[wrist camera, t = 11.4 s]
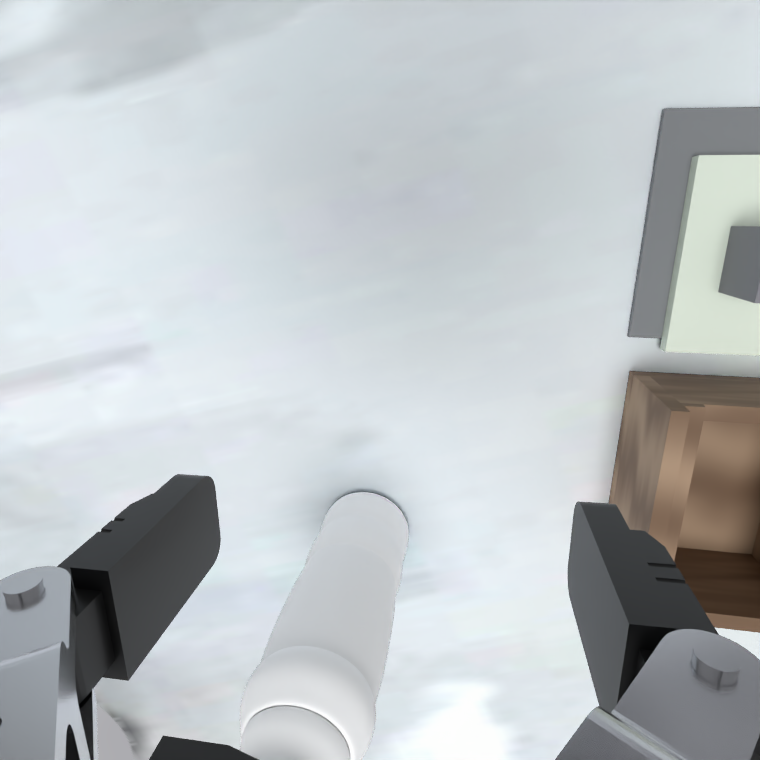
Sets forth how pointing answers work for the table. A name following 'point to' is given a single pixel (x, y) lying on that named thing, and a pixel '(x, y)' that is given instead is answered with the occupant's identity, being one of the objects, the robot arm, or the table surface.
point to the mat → (680, 197)
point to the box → (697, 483)
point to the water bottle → (330, 640)
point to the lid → (717, 260)
